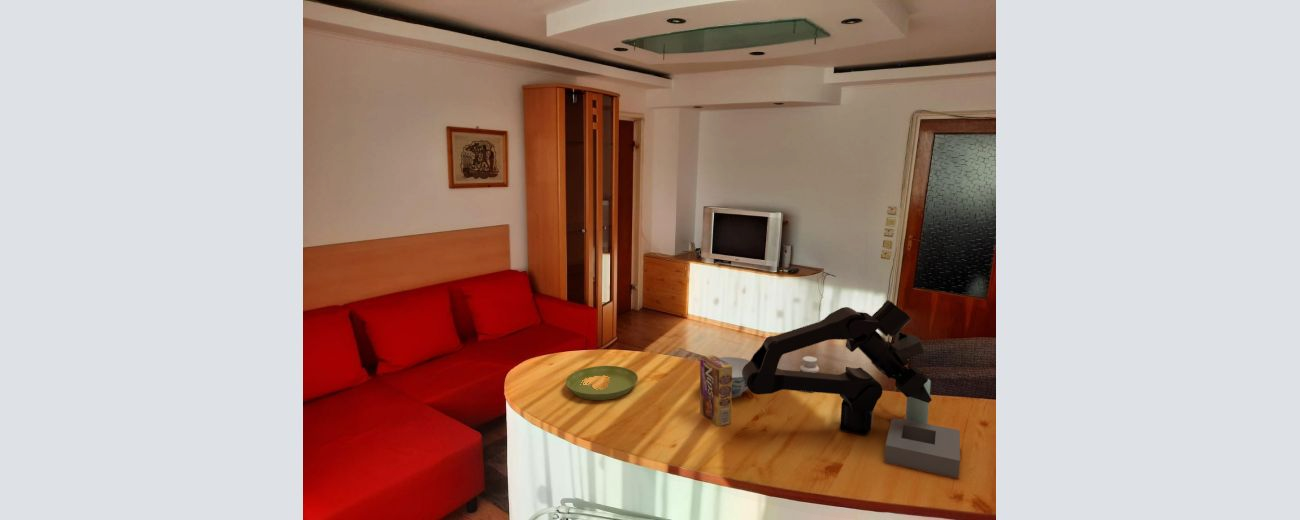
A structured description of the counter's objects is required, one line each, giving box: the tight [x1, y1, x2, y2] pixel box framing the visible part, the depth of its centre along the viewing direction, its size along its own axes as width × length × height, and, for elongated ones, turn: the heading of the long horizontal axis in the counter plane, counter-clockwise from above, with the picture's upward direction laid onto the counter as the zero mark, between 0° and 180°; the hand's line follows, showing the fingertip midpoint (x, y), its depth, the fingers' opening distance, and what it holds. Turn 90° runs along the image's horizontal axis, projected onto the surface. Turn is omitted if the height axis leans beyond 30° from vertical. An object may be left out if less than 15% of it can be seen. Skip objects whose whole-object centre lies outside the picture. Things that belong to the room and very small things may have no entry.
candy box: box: [699, 354, 733, 427], centre depth 141 cm, size 9×4×15 cm, turn 26°
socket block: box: [883, 417, 961, 479], centre depth 123 cm, size 14×14×4 cm
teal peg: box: [904, 378, 932, 424], centre depth 135 cm, size 5×5×12 cm
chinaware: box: [717, 356, 751, 399], centre depth 156 cm, size 15×15×8 cm
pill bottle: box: [799, 355, 820, 373], centre depth 158 cm, size 5×5×9 cm
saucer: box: [565, 365, 639, 401], centre depth 161 cm, size 21×21×3 cm
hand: (920, 392), depth 134 cm, fingers open, 9 cm apart
